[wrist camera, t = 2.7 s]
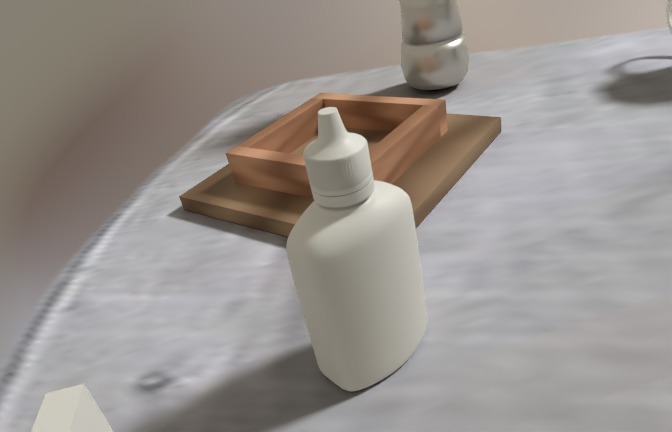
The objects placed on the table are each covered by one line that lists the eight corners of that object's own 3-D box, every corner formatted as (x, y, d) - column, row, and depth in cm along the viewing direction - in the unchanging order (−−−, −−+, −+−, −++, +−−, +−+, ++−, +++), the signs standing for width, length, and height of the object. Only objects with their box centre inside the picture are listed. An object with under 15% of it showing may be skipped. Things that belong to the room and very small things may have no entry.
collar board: (501, 131, 42) (499, 86, 40) (385, 262, 31) (376, 207, 29) (321, 116, 53) (313, 79, 51) (184, 209, 41) (167, 167, 39)
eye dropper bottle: (310, 336, 27) (245, 111, 21) (416, 304, 27) (384, 76, 21) (328, 404, 23) (256, 154, 17) (450, 365, 24) (424, 109, 17)
